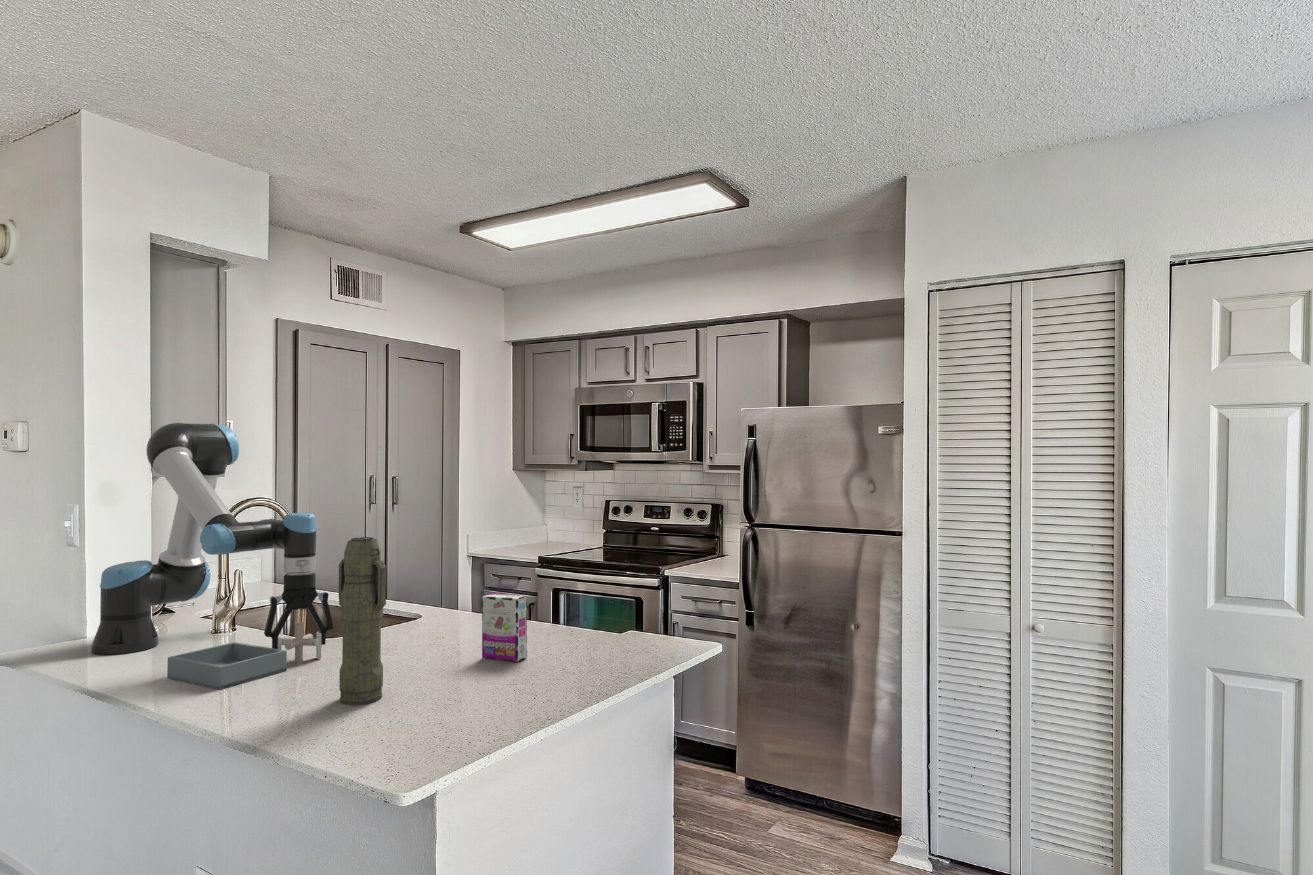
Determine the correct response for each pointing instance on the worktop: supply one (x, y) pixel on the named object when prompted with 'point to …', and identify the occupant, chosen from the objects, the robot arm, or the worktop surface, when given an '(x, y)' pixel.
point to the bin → (226, 665)
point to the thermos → (361, 621)
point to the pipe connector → (299, 641)
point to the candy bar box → (504, 627)
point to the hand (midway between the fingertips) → (298, 660)
